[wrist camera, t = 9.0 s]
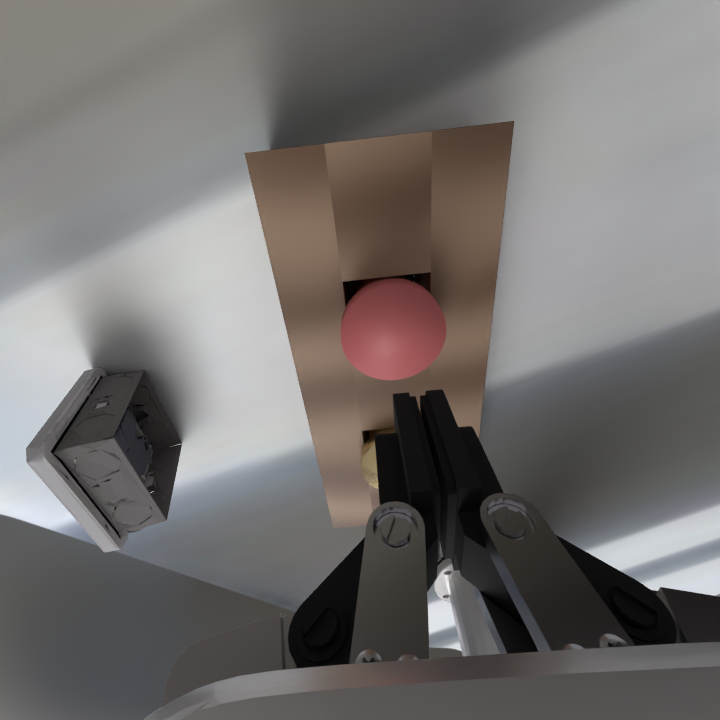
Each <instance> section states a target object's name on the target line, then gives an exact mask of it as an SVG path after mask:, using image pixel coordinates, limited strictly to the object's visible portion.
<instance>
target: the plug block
mask: <svg viewBox="0 0 720 720" xmlns="http://www.w3.org/2000/svg"><path fill="white" fill-rule="evenodd" d="M513 127H514V121H510V122H502V123H494V124H485V125H477V126H468V127H460V128H452V129H443V130H435V131H427V132H418V133H410V134H401V135H393V136H385V137H376V138H368V139H360V140H351V141H343V142H334V143H326V144H318V145H309V146H301V147H292V148H284V149H276V150H267V151H259V152H251V153H245V157H246V161H247V165H248V169H249V173H250V178H251V182H252V186H253V190H254V194H255V199H256V203H257V207H258V211H259V216H260V220H261V224H262V228H263V232H264V237H265V241H266V245H267V249H268V254H269V258H270V262H271V266H272V270H273V275H274V279H275V283H276V287H277V291H278V296H279V300H280V304H281V308H282V313H283V317H284V321H285V325H286V329H287V334H288V338H289V342H290V346H291V351H292V355H293V359H294V363H295V367H296V372H297V376H298V380H299V384H300V388H301V393H302V397H303V401H304V405H305V410H306V414H307V418H308V422H309V426H310V431H311V435H312V439H313V443H314V448H315V452H316V456H317V460H318V464H319V469H320V473H321V477H322V481H323V485H324V490H325V494H326V498H327V502H328V507H329V511H330V515H331V519H332V523H333V528H341V527H352V526H364V525H367V522H368V518H369V516H370V515H371V513H372V512H373V510H374V509H376V508H377V507H378V506H380V501H379V489H377V488H375V487H373V486H371V485H370V484H369V483H368V482H367V481H366V480H365V479H364V477H363V475H362V472H361V451H362V448H363V446H364V444H365V443H366V442H367V441H368V440H369V439H370V436H369V430H376V429H387V428H395V425H394V410H393V394H395V393H406V392H409V395H410V396H416V399H417V403H418V407H419V410H420V395H425V392H426V391H428V390H439V389H442V390H443V391H444V393H445V396H446V398H447V401H448V403H449V406H450V408H451V411H452V413H453V416H454V418H455V420H456V423H457V425H458V427H466V426H472V427H473V429H474V430H475V432H476V435H477V437H478V439H479V431H480V422H481V413H482V404H483V395H484V386H485V377H486V368H487V359H488V350H489V341H490V332H491V323H492V315H493V306H494V297H495V288H496V279H497V270H498V261H499V252H500V243H501V234H502V225H503V216H504V207H505V198H506V189H507V180H508V171H509V163H510V154H511V145H512V136H513ZM409 274H415V283H417V284H419V285H421V286H422V287H424V288H425V289H427V290H428V291H429V292H430V293H431V294H432V296H433V297H434V298H435V300H436V302H437V303H438V305H439V306H440V308H441V310H442V312H443V314H444V317H445V321H446V339H445V342H444V345H443V348H442V350H441V352H440V353H439V355H438V356H437V358H436V359H435V360H434V361H433V362H432V364H431V365H429V366H428V367H427V368H426V369H424V370H423V371H421V372H420V373H418V374H416V375H413V376H411V377H408V378H404V379H399V380H381V379H376V378H373V377H370V376H368V375H365V374H364V373H362V372H360V371H359V370H358V369H356V368H355V367H354V366H353V365H352V364H351V363H350V361H349V360H348V359H347V357H346V355H345V354H344V351H343V348H342V344H341V321H342V316H343V313H344V310H345V308H346V306H347V304H348V302H349V294H348V286H347V281H353V280H362V279H371V278H381V277H390V276H399V275H409Z"/></svg>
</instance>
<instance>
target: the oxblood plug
mask: <svg viewBox="0 0 720 720" xmlns="http://www.w3.org/2000/svg"><path fill="white" fill-rule="evenodd" d="M445 339H446V321H445V317H444V314H443V312H442V310H441V308H440V306H439V305H438V303H437V302H436V300H435V298H434V297H433V296H432V294H431V293H430V292H429V291H428V290H427V289H425V288H424V287H422V286H421V285H419V284H417V283H415V282H412V281H410V280H409V278H408V277H407V275H399V276H390V277H381V278H371V279H362V280H357V281H356V283H355V287H354V296H353V297H352V298H351V300H350V301H349V302H348V304H347V306H346V308H345V310H344V313H343V316H342V321H341V344H342V348H343V351H344V354H345V355H346V357H347V359H348V360H349V361H350V363H351V364H352V365H353V366H354V367H355V368H356V369H358V370H359V371H360V372H362V373H364V374H365V375H368V376H370V377H373V378H376V379H381V380H399V379H404V378H408V377H411V376H413V375H416V374H418V373H420V372H421V371H423V370H424V369H426V368H427V367H428V366H429V365H431V364H432V362H433V361H434V360H435V359H436V358H437V356H438V355H439V353H440V352H441V350H442V348H443V345H444V342H445Z"/></svg>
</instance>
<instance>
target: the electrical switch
mask: <svg viewBox="0 0 720 720" xmlns="http://www.w3.org/2000/svg"><path fill="white" fill-rule="evenodd" d="M145 387H147V388H148V389H147V388H145ZM149 396H150V400H149ZM145 403H146V404H145ZM144 404H145V405H144ZM130 405H131V406H130ZM134 405H143V406H140V407H135V406H134ZM138 411H144V412H146V413H147V414H148V417H147V418H145V419H143V420H141V421H138V422H137V420H136V418H135V416H134V413H133V412H138ZM152 421H154V422H152ZM151 422H152V423H151ZM142 425H143V426H142ZM141 426H142V428H141V429H140V427H141ZM165 438H166V439H165ZM177 444H180V445H177ZM150 445H151V447H150ZM174 445H176V446H174ZM170 446H172V447H170ZM181 446H182V444H181V442H180V440H179V438H178V436H177V434H176V432H175V430H174V428H173V426H172V424H171V422H170V420H169V418H168V416H167V414H166V412H165V410H164V408H163V406H162V404H161V402H160V400H159V398H158V396H157V394H156V392H155V390H154V388H153V386H152V384H151V382H150V380H149V378H148V376H147V374H146V372H145V371H144V370H141V371H137V372H132V373H128V374H116V375H112V376H107V374H106V372H105V370H104V369H103V368H94V369H91V370H87V371H84V373H83V374H82V375H81V377H80V378H79V379H78V381H77V382H76V383H75V385H74V386H73V387H72V389H71V390H70V391H69V393H68V394H67V395H66V397H65V398H64V399H63V400H62V402H61V403H60V404H59V406H58V407H57V408H56V410H55V411H54V412H53V414H52V415H51V416H50V418H49V419H48V420H47V422H46V423H45V424H44V426H43V427H42V428H41V430H40V431H39V432H38V434H37V435H36V436H35V438H34V439H33V440H32V442H31V443H30V444H29V445H28V447H27V448H26V456H27V463H28V465H29V466H30V467H31V468H32V469H33V470H34V471H35V473H36V474H37V475H38V476H39V477H40V478H41V480H42V481H43V482H44V483H45V484H46V485H47V487H48V488H49V489H50V490H51V491H52V492H53V493H54V495H55V496H56V497H57V498H58V499H59V500H60V502H61V503H62V504H63V505H64V506H65V507H66V509H67V510H68V511H69V512H70V513H71V514H72V515H73V517H74V518H75V519H76V520H77V521H78V522H79V524H80V525H81V526H82V527H83V528H84V529H85V531H86V532H87V533H88V534H89V535H90V536H91V538H92V539H93V540H94V541H95V542H96V543H97V544H98V546H99V547H100V548H101V549H102V550H103V551H104V552H110V551H114V550H121V549H122V547H123V546H124V544H125V542H126V540H127V538H128V534H129V533H131V532H136V531H139V530H141V529H143V528H145V527H146V526H149V525H153V524H156V523H159V522H163V521H166V520H167V516H168V511H169V506H170V501H171V496H172V491H173V486H174V481H175V476H176V471H177V466H178V461H179V456H180V451H181ZM152 491H154V492H152ZM150 492H152V493H150Z"/></svg>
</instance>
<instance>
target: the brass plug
mask: <svg viewBox="0 0 720 720" xmlns="http://www.w3.org/2000/svg"><path fill="white" fill-rule="evenodd" d="M386 433H395V428H387V429H376V430H369V436H370V439H369V440H368V441H367V442H366V443H365V444H364V446H363V448H362V451H361V472H362V475H363V477H364V479H365V480H366V481H367V482H368V483H369V484H370V485H371V486H373V487H375V488H377V489H379V488H378V475H377V462H376V449H375V436H374V434H386Z"/></svg>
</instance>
